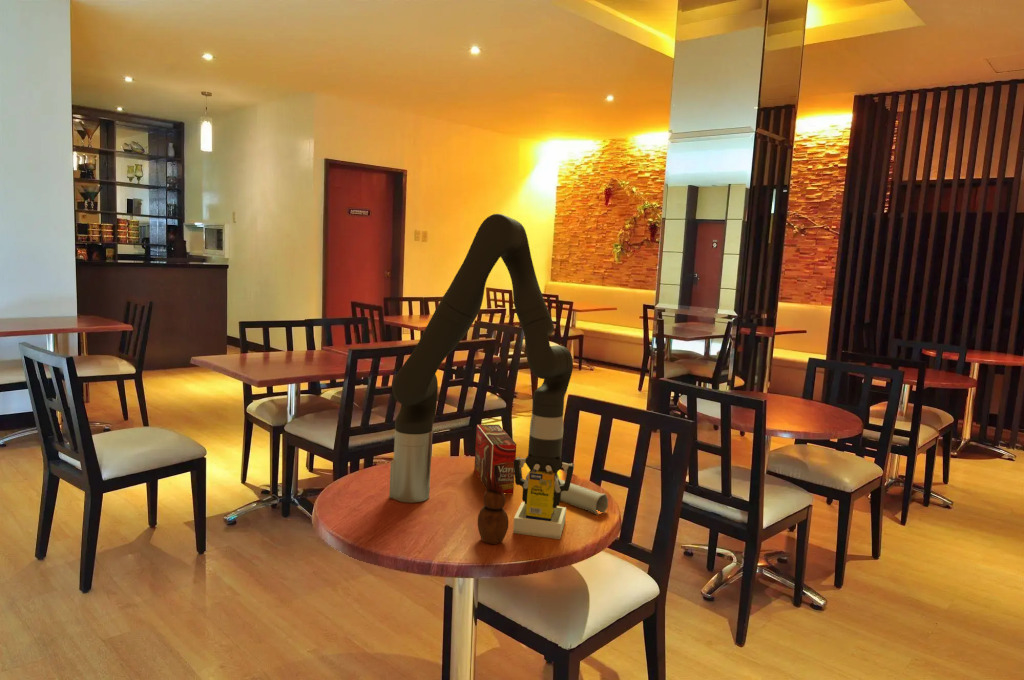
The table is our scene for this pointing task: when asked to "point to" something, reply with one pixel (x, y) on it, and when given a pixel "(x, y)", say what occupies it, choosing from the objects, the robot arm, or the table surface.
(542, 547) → the table surface
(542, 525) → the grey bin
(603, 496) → the tube
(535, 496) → the supplement box
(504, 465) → the ice cream box
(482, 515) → the wooden figurine
